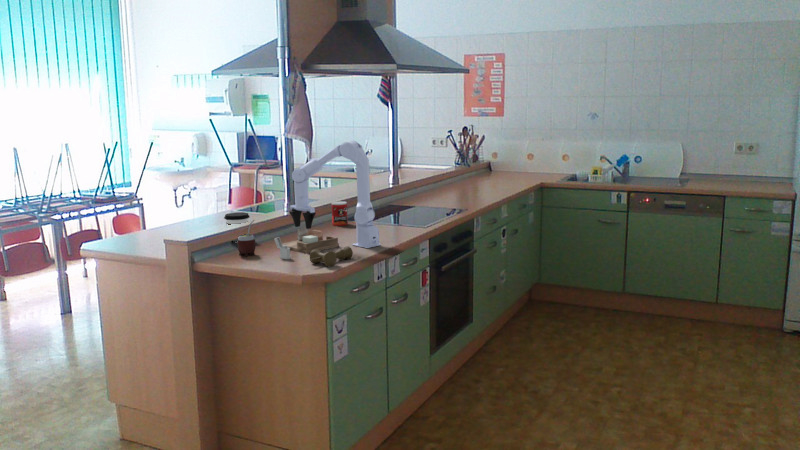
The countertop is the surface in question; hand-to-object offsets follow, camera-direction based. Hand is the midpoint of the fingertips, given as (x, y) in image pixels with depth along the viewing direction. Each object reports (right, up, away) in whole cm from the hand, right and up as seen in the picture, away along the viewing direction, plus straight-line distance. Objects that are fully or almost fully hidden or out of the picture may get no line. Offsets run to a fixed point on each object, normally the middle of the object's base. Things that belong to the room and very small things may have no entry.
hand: (303, 227), depth 299 cm
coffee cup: (-30, -6, +7) cm, 31 cm away
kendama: (+15, -14, -36) cm, 41 cm away
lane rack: (+3, -8, -7) cm, 11 cm away
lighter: (-4, -12, -27) cm, 30 cm away
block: (+5, -8, -14) cm, 17 cm away
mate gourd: (-19, -11, -21) cm, 30 cm away
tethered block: (+3, -6, -2) cm, 7 cm away
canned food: (+12, +1, +42) cm, 44 cm away
